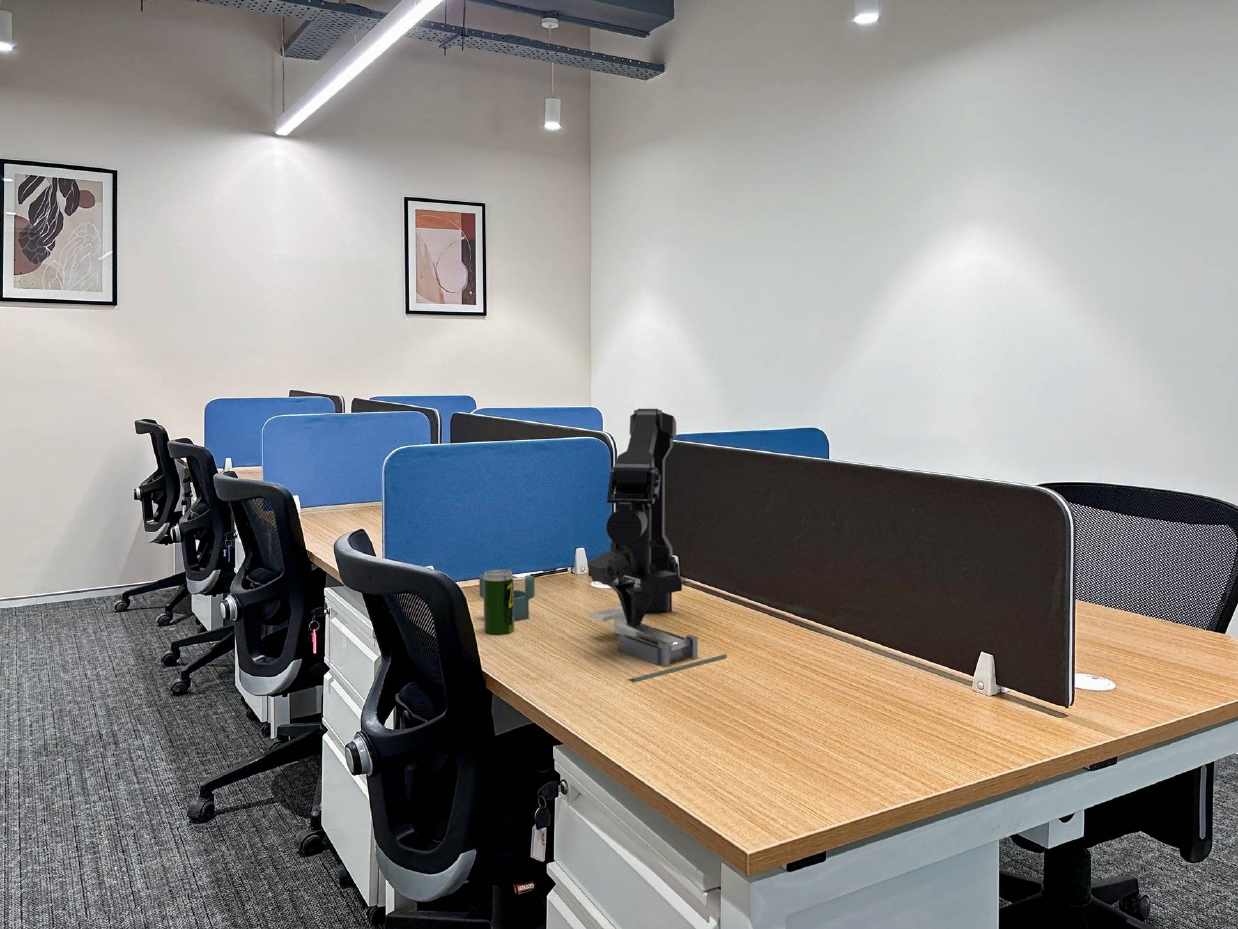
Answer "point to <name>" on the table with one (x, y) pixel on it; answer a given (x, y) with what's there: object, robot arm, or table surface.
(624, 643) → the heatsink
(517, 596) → the bracket
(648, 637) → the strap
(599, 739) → the table surface
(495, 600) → the beer can
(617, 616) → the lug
